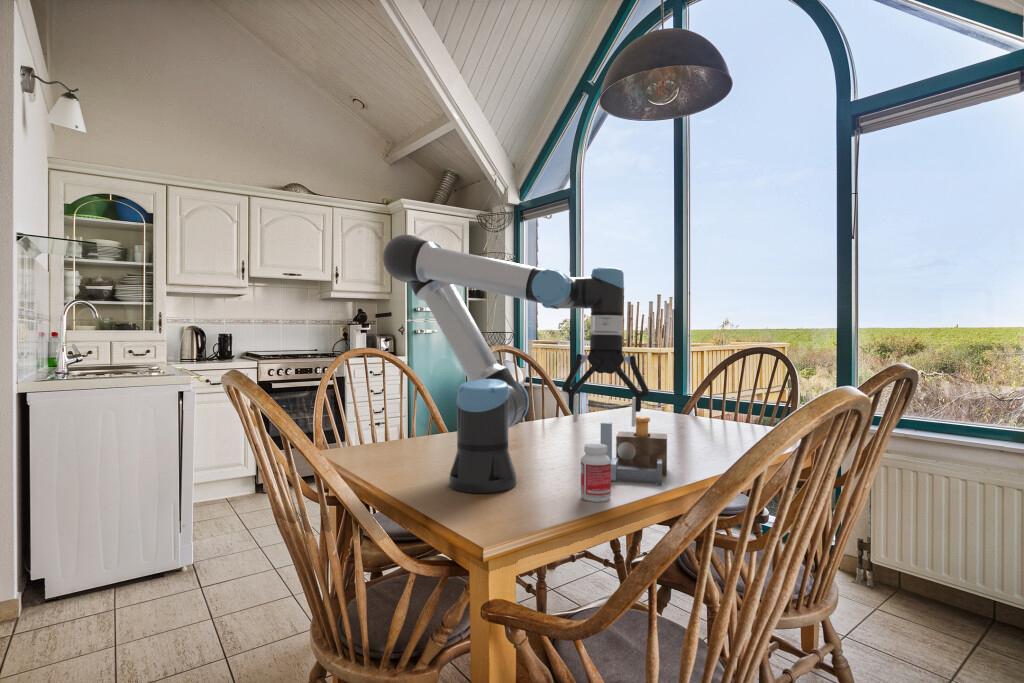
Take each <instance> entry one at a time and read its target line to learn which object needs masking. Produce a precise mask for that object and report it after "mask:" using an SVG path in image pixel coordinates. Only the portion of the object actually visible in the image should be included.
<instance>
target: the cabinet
mask: <svg viewBox="0 0 1024 683" xmlns="http://www.w3.org/2000/svg"><path fill="white" fill-rule="evenodd" d="M615 442H616V443H615V449H616V450H615V458H618V465H620V466H635V467H649V468H657V460H658V459H662V477H667V475H668V433H660V432H658V433H657V432H648V437H643V436H636V431H620V430H619V431H618V432H617V434H616V436H615Z"/></svg>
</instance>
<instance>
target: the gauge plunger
mask: <svg viewBox="0 0 1024 683" xmlns="http://www.w3.org/2000/svg"><path fill="white" fill-rule="evenodd" d="M650 422H651V417H648V416H636V425H635V432H636V436H643V437H648V433H649V423H650Z"/></svg>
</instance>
